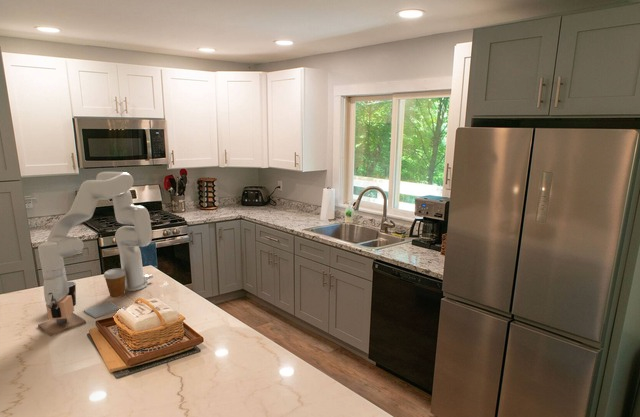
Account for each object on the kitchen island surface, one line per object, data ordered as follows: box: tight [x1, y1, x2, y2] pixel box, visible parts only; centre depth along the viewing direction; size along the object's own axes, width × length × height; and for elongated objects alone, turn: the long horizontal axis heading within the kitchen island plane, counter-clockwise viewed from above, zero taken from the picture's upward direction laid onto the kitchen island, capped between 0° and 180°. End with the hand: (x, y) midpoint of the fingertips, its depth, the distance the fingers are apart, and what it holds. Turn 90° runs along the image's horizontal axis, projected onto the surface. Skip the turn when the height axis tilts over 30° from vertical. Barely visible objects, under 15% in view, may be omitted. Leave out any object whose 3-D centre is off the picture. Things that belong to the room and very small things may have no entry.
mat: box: [83, 301, 122, 319], centre depth 174 cm, size 11×11×1 cm
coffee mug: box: [67, 280, 77, 307], centre depth 180 cm, size 12×9×10 cm
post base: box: [37, 311, 87, 337], centre depth 161 cm, size 13×13×8 cm
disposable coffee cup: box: [103, 268, 126, 298], centre depth 189 cm, size 10×10×12 cm
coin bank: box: [45, 295, 75, 321], centre depth 160 cm, size 7×7×7 cm
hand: (61, 312), depth 161 cm, fingers closed on coin bank, 6 cm apart
